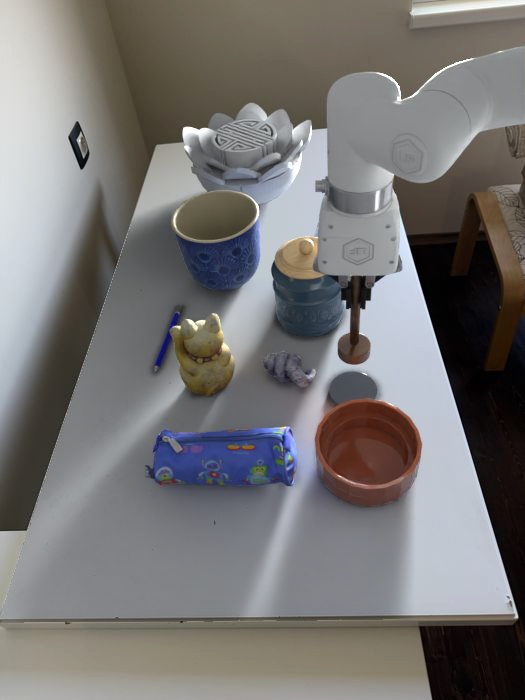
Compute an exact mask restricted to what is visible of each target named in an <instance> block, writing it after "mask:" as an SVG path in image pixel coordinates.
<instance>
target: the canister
mask: <svg viewBox="0 0 525 700" xmlns="http://www.w3.org/2000/svg"><path fill="white" fill-rule="evenodd" d="M317 245H318V237H314V236H301V237H296V238H294V239H291V240H288V241H286V242H285V243H283V244H282V245H281V246H279V248H278V249H277V251H276V253H275V255H274V260H273V261H272V264H271V267H270V273H271V276H272V289H273V292H274V298H275V315H276V318H277V321H278V322H279V324H280V326H281V327H282V328H283V330H285V331H287V332H288V333H290V334H292V335H295V336H297V337H304V338H313V337H320V336H323V335H326V334H328V333H330V332H331V331H333V330H334V329H336V328H337V326H339V324H340V323H341V320H342V319H343V315H344V311H345V302H344V301H341V287H340V286H339V283H338V282H336V281H335V280H334V279H332V278H331V277H330V276H329V275H327V274H323V273H319V272H316V271H314V270H313V261H314V259H315V257H316V254H317Z"/></svg>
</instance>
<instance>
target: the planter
mask: <svg viewBox="0 0 525 700" xmlns="http://www.w3.org/2000/svg"><path fill="white" fill-rule="evenodd" d="M259 209H260V208H259V205H258V204H256V202H255V201H254V200H253V199H252V198H251V197H249V196H247V195H245V194H243V193H240V192H236V191H229V190H217V191H210V192H207V191H206V192H202V193H199V194H196V195H194V196H191V197H189V198H188V199H186V200H185V201H182V203H180V204H179V205H178V207H176V209H175V210H174V212H173V213H172V215H171V219H170V226H171V228H172V231H173V234H174V236H175V240H176V243H177V246H178V248H179V251H180V254H181V257H182V259H183V262H184V265H185V268H186V270H187V271H188V273H189V274H190V276H191V277H192V279H193V280H194V281H195V282H196V283H198V284H199V285H200V286H201V287H204V288H206V289H209V290H212V291H221V292H223V291H230V290H235V289H238V288H239V287H242V286H243V285H245V284H246V283H247V282H248V281H250V280H251V279H252V277H254V275H255V274H256V272H257V270H258V268H259V264H260V261H261V231H260V210H259Z"/></svg>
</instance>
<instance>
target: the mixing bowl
mask: <svg viewBox="0 0 525 700" xmlns="http://www.w3.org/2000/svg"><path fill="white" fill-rule="evenodd" d="M314 435H315V436H314V450H315V451H314V452H315V463H316V464H315V465H316V471H317V474H318V475H319V477H320V479H321V481H322V482H323V485H324V486H325V487H326V488H327V489H328V490H329V491H330V492H331V493H332V494H333V495H334V496H336V497H337V498H339V499H341V500H342V501H343V500H344V501H345V502H347V503H349V504H353V505H356V506H362V507H377V506H378V507H379V506H384V505H387V504H390V503H393V502H394V501H397V500H399V499H400V498H402V497H403V496H404V495H405V494H406V493H407V492H409V490H411V488H412V486H413V484H414V483H415V480H416V478H417V476H418V474H419V473H418V471H419V468H420V463H421V457H422V449H423V442H422V437H421V434H420V431H419V429H418V427H417V425H416V424H415V422H414V421H413V420H412V418H411V417H410V416H409V415H408V414H406V413H405V412H404V410H403V411H402V409H401V408H399V407H397V406H395V405H393V404H391V403H388V402H386V401H384V400H379V399H376V400H373V399H358V400H351V401H348V402H345V403H342V404H340V405H338V406H337V405H335V407H333V408H332V409H330V410H329V411H328V412H327V413H326V414H325V415H324V416H323V418H322V419H321V420H320V422H319V423H318V424H317V428H316V432H315V434H314Z"/></svg>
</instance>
